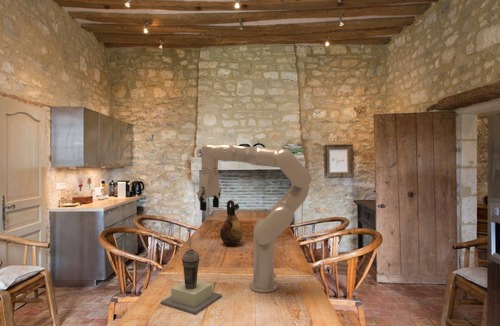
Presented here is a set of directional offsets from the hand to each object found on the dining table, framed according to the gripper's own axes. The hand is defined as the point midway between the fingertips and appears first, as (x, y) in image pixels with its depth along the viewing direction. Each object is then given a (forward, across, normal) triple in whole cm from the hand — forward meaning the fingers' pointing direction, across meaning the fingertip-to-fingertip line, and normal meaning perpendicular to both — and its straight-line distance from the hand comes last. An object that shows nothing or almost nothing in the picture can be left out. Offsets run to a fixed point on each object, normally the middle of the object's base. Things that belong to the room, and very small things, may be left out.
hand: (209, 208), depth 150 cm
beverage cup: (+31, +16, +2) cm, 34 cm away
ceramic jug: (+36, -64, -29) cm, 79 cm away
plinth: (+36, +15, +2) cm, 39 cm away
